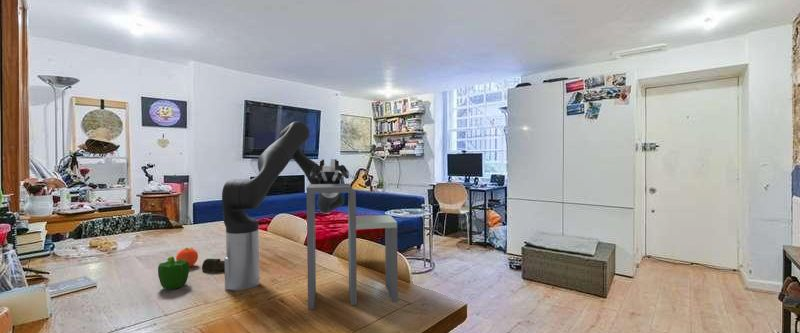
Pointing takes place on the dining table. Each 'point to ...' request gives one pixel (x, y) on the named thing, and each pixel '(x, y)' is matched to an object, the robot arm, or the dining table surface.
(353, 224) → the step stand
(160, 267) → the bell pepper
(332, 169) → the bracket
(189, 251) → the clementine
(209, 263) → the hand tool
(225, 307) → the dining table surface
